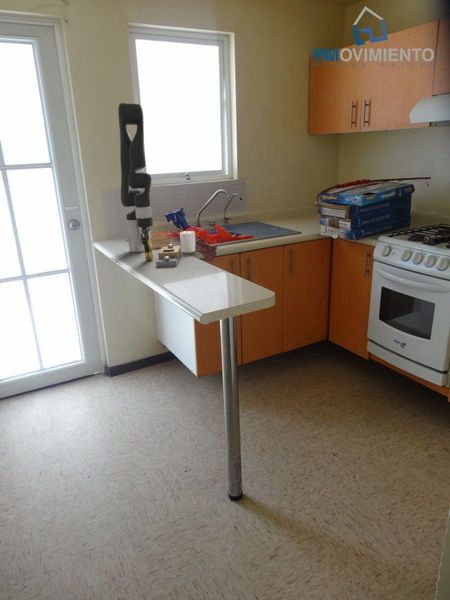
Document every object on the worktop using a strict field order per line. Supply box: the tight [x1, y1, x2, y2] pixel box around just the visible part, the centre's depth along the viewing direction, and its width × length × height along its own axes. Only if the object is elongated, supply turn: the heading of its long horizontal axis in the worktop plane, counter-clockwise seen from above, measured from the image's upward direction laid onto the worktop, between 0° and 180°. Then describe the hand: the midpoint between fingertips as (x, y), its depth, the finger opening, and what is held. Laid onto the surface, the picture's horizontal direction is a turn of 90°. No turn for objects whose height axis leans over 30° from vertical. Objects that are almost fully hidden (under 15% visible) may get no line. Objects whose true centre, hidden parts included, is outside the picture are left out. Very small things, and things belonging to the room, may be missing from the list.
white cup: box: [179, 230, 196, 254], centre depth 225 cm, size 8×8×10 cm
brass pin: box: [143, 233, 154, 261], centre depth 210 cm, size 4×4×12 cm
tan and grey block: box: [155, 243, 182, 268], centre depth 207 cm, size 9×22×6 cm, turn 179°
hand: (148, 251), depth 211 cm, fingers closed on brass pin, 4 cm apart
